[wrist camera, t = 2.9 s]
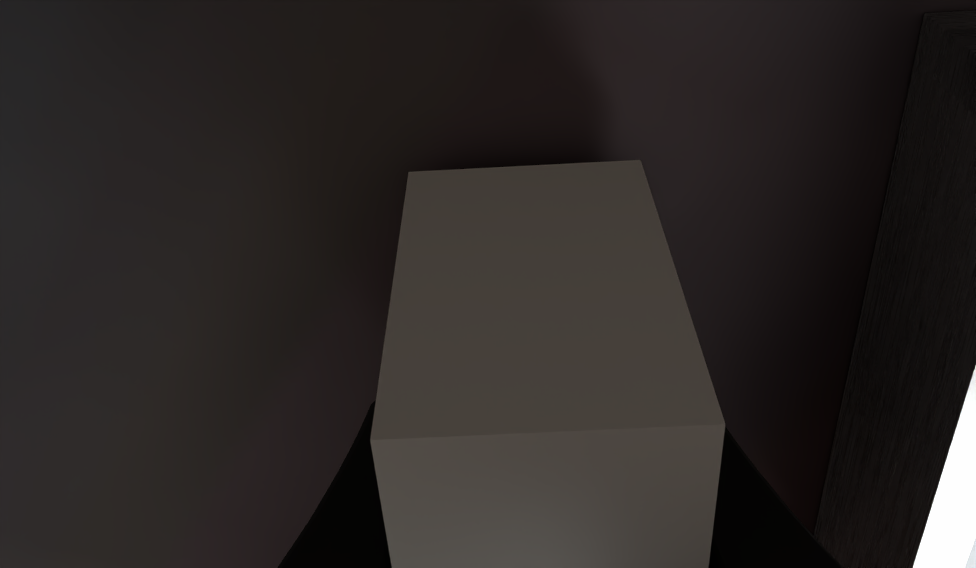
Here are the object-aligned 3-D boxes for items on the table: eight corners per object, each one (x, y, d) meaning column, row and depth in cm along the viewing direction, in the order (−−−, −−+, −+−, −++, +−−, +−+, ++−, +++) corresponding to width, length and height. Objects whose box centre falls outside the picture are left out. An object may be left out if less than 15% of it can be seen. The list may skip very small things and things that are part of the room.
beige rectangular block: (625, 530, 16) (676, 838, 12) (450, 538, 16) (439, 846, 12) (640, 159, 12) (725, 424, 8) (408, 172, 12) (370, 439, 8)
